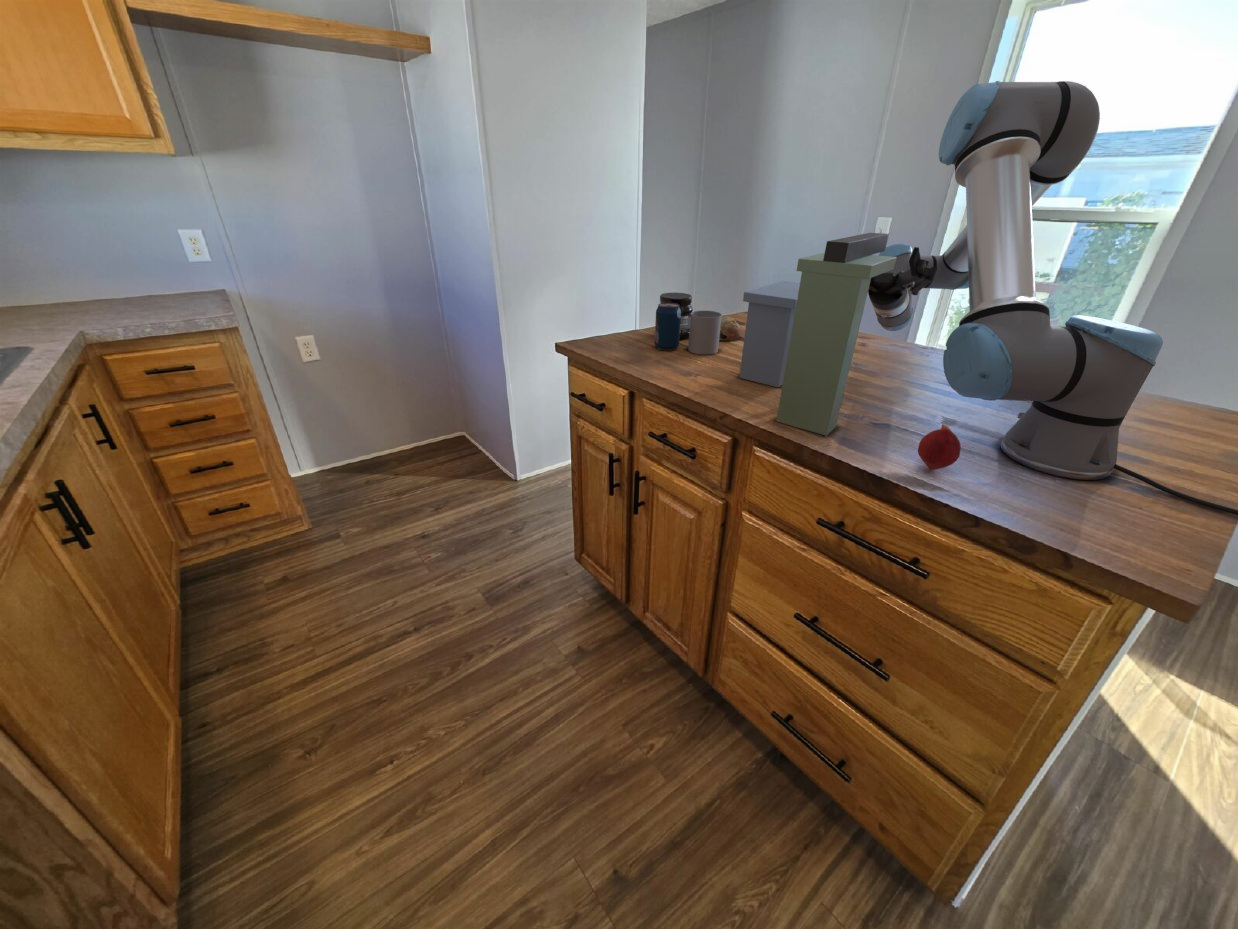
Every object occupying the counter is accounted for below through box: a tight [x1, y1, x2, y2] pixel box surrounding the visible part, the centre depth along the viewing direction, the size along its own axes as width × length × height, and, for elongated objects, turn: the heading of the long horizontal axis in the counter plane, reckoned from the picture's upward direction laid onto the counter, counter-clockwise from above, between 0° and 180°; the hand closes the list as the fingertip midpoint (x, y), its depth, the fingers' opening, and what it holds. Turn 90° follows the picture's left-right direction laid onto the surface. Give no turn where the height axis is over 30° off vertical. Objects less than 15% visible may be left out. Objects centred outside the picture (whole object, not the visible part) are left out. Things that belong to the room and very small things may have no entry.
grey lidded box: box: [738, 280, 800, 388], centre depth 120 cm, size 12×20×20 cm, turn 140°
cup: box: [687, 310, 723, 355], centre depth 140 cm, size 8×8×10 cm
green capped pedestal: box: [775, 252, 897, 437], centre depth 94 cm, size 12×14×30 cm
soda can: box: [654, 302, 681, 352], centre depth 141 cm, size 7×7×12 cm
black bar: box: [823, 232, 890, 263], centre depth 89 cm, size 4×22×3 cm, turn 140°
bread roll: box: [719, 315, 741, 342], centre depth 153 cm, size 10×10×8 cm
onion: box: [917, 423, 962, 471], centre depth 82 cm, size 6×6×8 cm
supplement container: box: [659, 292, 694, 340], centre depth 152 cm, size 10×10×12 cm
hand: (875, 251), depth 98 cm, fingers open, 13 cm apart
